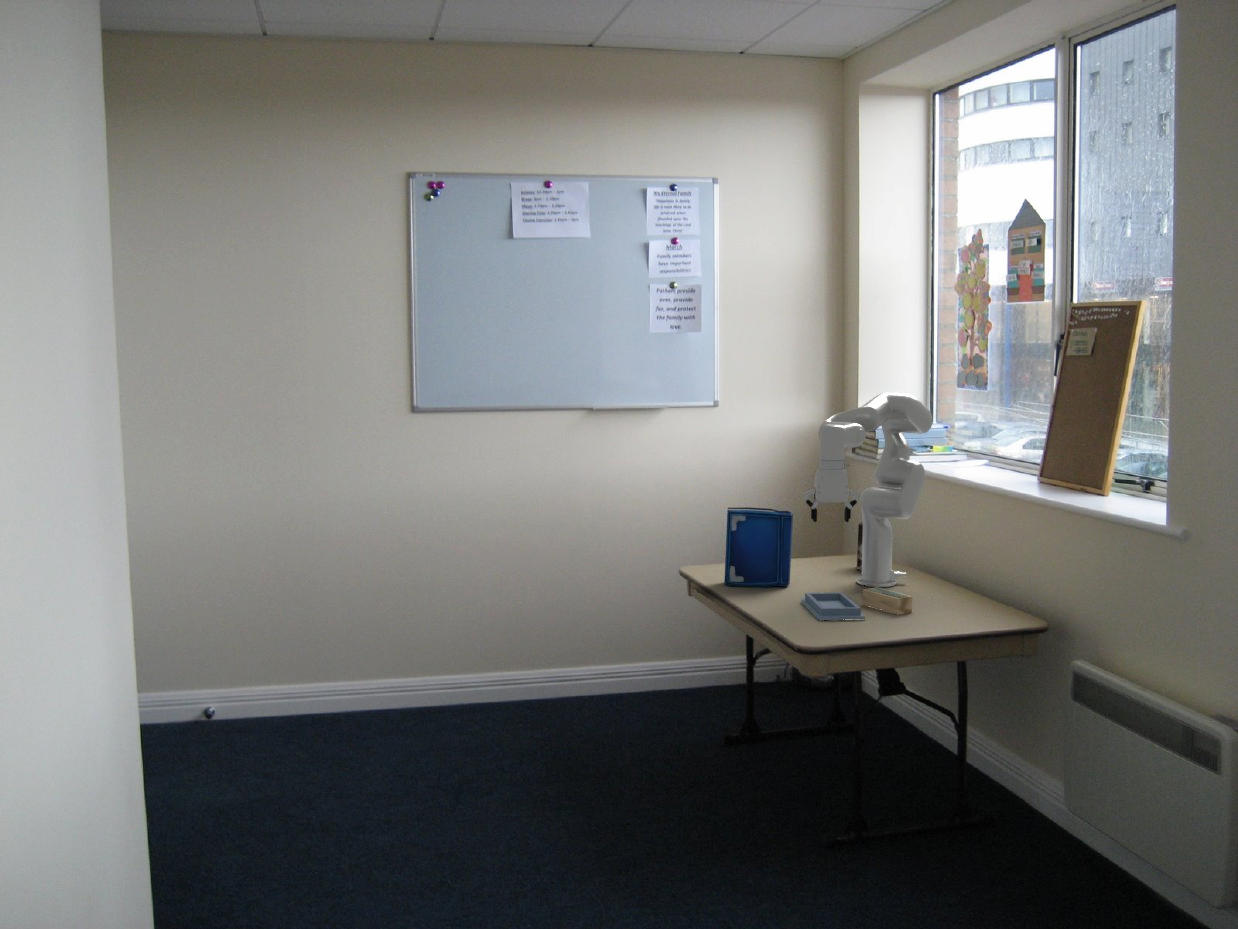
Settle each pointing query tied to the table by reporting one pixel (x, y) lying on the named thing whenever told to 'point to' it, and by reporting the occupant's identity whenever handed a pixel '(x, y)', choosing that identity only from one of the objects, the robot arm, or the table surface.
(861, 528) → the coffee box
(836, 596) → the blue tray
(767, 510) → the book
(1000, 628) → the table surface
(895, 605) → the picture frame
